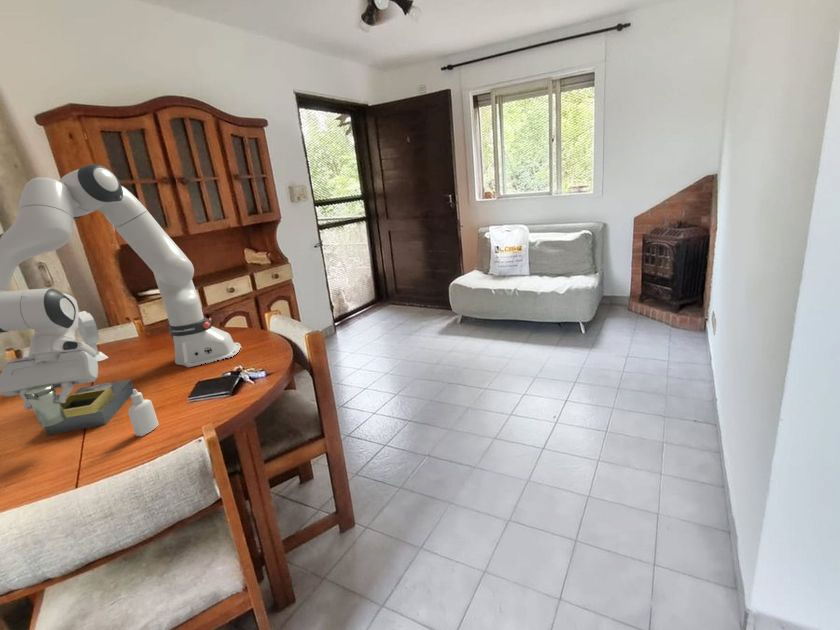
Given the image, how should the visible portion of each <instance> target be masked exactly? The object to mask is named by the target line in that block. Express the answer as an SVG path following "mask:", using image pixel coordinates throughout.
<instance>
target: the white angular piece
mask: <svg viewBox="0 0 840 630" xmlns="http://www.w3.org/2000/svg"><path fill="white" fill-rule="evenodd" d="M78 313H79V320H78V329H77V331H78V333H79V334H80V336H81V338H82V340H83V342H84V343H85V344H87V345H89V346H90V347H92V348H93V349H94V350H95V351H96V357H95V359H96V360H97V362H101V361H104V360H106V359H109V356H107V355H106V354H105V353H103V352H102V351H99V349H98V346H97V344H99V340H100V338H99V337H100V336H99V330H98V328H97V324H96V321H95V318H94V317H93V315H92V314H91V313H90V312H88V311H86V310H84V311H78Z"/></svg>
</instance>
